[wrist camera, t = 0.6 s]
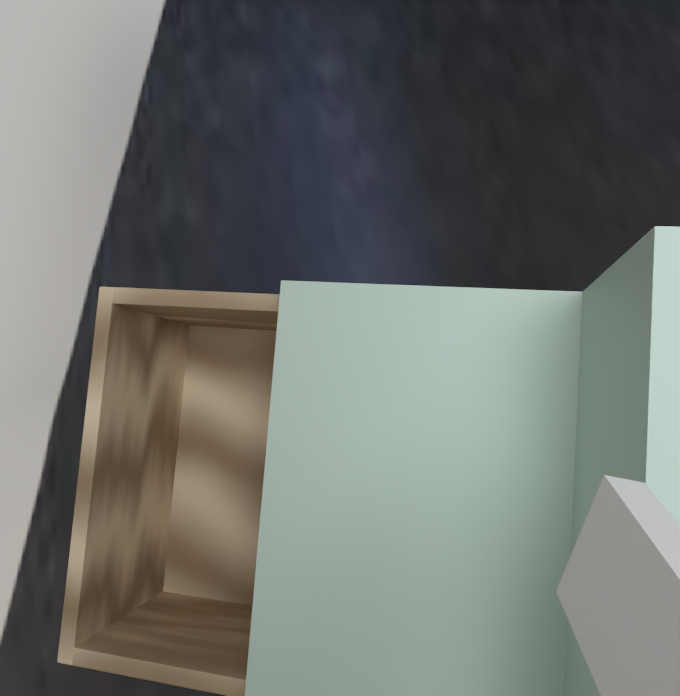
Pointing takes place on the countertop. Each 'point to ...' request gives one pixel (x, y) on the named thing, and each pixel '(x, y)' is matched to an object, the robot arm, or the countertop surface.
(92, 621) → the wooden box
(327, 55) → the countertop surface
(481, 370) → the grey-green angled piece
